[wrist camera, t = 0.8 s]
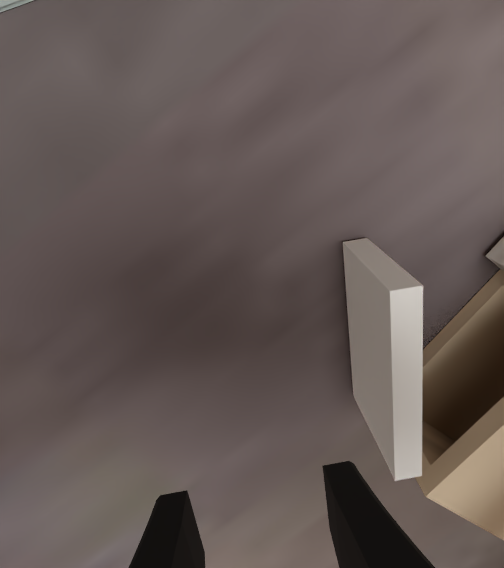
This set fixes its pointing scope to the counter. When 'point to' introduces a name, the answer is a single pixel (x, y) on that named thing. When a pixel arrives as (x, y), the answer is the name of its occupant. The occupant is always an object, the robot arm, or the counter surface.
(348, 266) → the door
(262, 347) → the counter surface
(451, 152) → the counter surface
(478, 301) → the beige rectangular block
